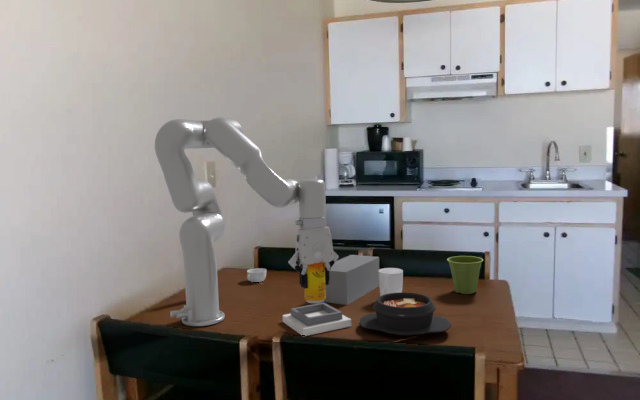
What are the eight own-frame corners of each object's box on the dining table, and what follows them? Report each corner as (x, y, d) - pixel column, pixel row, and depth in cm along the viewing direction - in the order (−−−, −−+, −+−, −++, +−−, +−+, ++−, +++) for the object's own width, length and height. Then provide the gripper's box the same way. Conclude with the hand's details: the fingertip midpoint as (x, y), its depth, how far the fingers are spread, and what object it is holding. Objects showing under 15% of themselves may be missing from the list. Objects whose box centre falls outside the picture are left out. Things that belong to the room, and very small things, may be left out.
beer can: (323, 304, 144) (322, 251, 143) (302, 303, 146) (300, 251, 144) (327, 298, 150) (326, 247, 149) (307, 297, 152) (305, 247, 150)
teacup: (256, 278, 205) (256, 266, 205) (275, 281, 199) (275, 269, 199) (238, 283, 197) (238, 271, 197) (258, 287, 191) (257, 274, 191)
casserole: (353, 338, 136) (353, 307, 136) (364, 316, 154) (363, 288, 154) (451, 344, 131) (451, 312, 130) (450, 320, 149) (450, 291, 148)
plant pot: (469, 285, 184) (469, 254, 183) (490, 294, 173) (490, 260, 172) (440, 289, 181) (440, 257, 179) (460, 298, 169) (459, 264, 168)
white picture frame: (303, 336, 139) (302, 322, 139) (282, 321, 151) (282, 308, 151) (351, 326, 146) (351, 312, 145) (327, 312, 158) (327, 300, 158)
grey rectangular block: (323, 279, 199) (323, 252, 198) (379, 286, 187) (379, 257, 186) (286, 296, 178) (285, 265, 177) (347, 305, 166) (346, 272, 165)
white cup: (374, 301, 169) (373, 271, 168) (387, 295, 174) (387, 266, 174) (394, 305, 163) (394, 274, 162) (407, 299, 169) (407, 269, 168)
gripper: (290, 227, 139) (292, 293, 140) (346, 221, 146) (347, 284, 148) (279, 224, 145) (281, 287, 147) (333, 218, 153) (334, 278, 155)
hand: (314, 285), depth 148 cm, fingers closed on beer can, 6 cm apart
